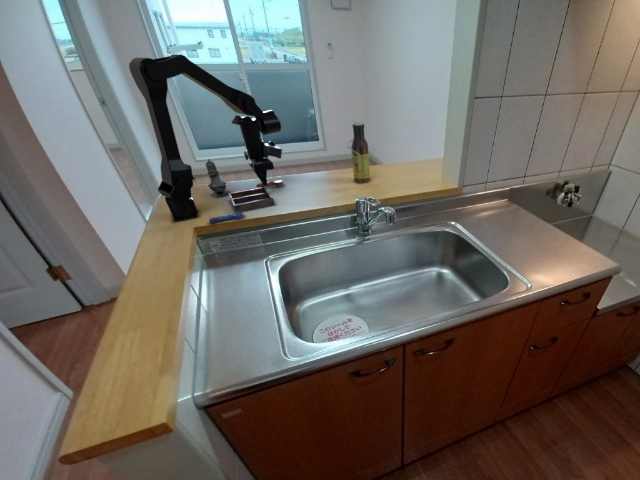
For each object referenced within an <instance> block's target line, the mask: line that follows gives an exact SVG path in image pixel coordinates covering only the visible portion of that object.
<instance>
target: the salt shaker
mask: <svg viewBox="0 0 640 480" xmlns="http://www.w3.org/2000/svg"><path fill="white" fill-rule="evenodd" d="M205 167H206V171H207V175H208V176H209V179H210V183H209V184H208V185H207V186H208V187H209V189H210V191H212V192H214V193H212V197H214V198H220V197H221V198H223V197H226V196H229V195H228V194H229V193H230V192H229V191H227V190H226V189H227V182H226V181H223V180H222V178H221V177H220V174H219V173H220V171H218V169H217V167H216V164H215V162H214V161H211V160H210V158H207V161H206V162H205Z"/></svg>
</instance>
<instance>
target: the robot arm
mask: <svg viewBox="0 0 640 480" xmlns="http://www.w3.org/2000/svg"><path fill="white" fill-rule="evenodd" d="M128 68H129V72H130V75H131V77H132V78H133V81H134V82H135V85H136V87H137V89H138V90H139V92H140V93H141V95H142V97H143V98H144V100H145V102H146V107H147V110H148V113H149V117H150V121H151V124H152V127H153V131H154V134H155V138H156V142H157V145H158V148H159V153H160V155H161V161H160V176H161V182H160V183H159V186H158V188H157V191H158V193H159V194H161V196H163V197H164V201H165V203H166V205H167V207H168V209H169V212H170V213H171V216H172V219H173V222H179V221H183V220H189V219H194V218H198V217H199V216H198V213H199V210H198V207H197V205H196V203H195V200H194V198H193V197H192V188H193V187H194V181H195V180H196V178H195V177H194V175H193V169H192V166H191V164H188V163H185V162H184V161H183V159H182V157H181V154H180V149H179V145H178V142H177V137H176V135H175V129H174V126H173V122H172V117H171V115H170V109H169V107H168V103H167V98H168V90H169V86H168V79H172V78H174V77H178V76H180V75H182V76H184V77H186V78H187V79H189V80H190V81H192V82H194V83H195V84H197V85H199V86H200V87H202V88H203V89H205V90H207V91H208V92H210V93H211V94H213V95H214V96H216V97H218V98H219V99H220V100H222V101H223V102H224V104H225V105H226V106H227V107H229V108H230V109H231V110H232V111H233V112H235V113H236V115H234V118H233V119H232V121H231V124H232V125H236V126H239V129H240V132H241V135H242V136H241V137H242V139H243V140H242V142H243V145H244V146H245V150H244V152H243V156H244V159H245V160H246V161H249V160H250V162H248V165H249V166H250V168H251V169H252V171H253V173H254V174H255V175H256V176H257V178H258V180H259V181H260V182H261V183H263V185H267V182H268V171H270V170H274V169H275V166H274V162H273V161H272V160H271V159H269V157H273V158H277V159H280V160H281V159H282V153H283V148H282V147H280V146H278V145H276V143H275V141H271V140H269V141H268V142H265V141H264V140H263V139H262V135H264V136H266V135H270V134H276V133H279V132H281V130H282V124H281V121H280V119H279V117H278V116H277V115H276V114H275V110H273V109H269V110H266V111H263V110H262V109H261V107H259V105H257V103H256V99H255V98H254V96H252V95H251V94H249V93H246V92H244V91H242V90H239V89H238V88H234V87H232V86H230V85H228V84H227V83H225V82H224V81H222V80H221V79H218V78H217V77H215V76H214V75H213V74H211V73H209V72H208V71H206V70H205V69H204V68H202V67H201V66H199V65H198V64H196V63H195V62H193V61H191V60H190V59H189V58H188V57H187V56H185V55H183V54H177V53H176V54H175V53H173V54H170V55H167V56H163V57H158V58H150V57H134V58H132V59H131V60H130V62H129V64H128ZM238 114H239V115H238ZM240 115H246V116H240ZM252 117H254V118H252ZM261 134H262V135H261ZM266 178H267V179H266Z"/></svg>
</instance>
